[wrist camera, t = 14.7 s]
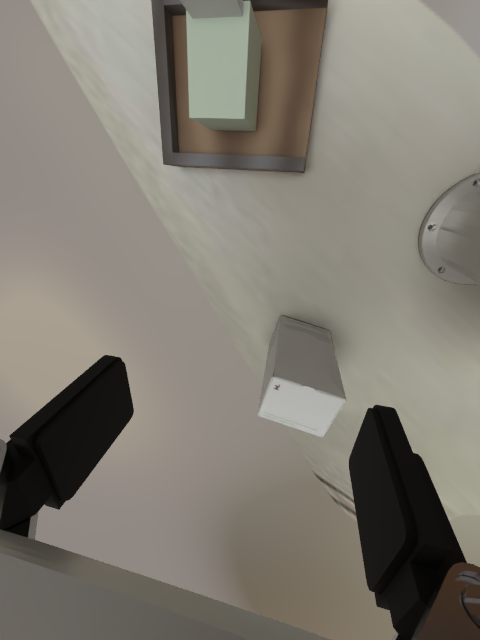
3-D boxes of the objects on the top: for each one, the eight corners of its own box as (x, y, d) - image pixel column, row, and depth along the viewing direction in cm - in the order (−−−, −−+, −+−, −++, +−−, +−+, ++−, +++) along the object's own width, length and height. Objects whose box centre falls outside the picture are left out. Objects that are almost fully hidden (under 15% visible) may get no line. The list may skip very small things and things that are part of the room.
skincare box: (268, 345, 44) (252, 416, 31) (281, 311, 41) (269, 374, 28) (316, 362, 44) (322, 441, 30) (333, 329, 40) (348, 401, 27)
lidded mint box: (263, 45, 26) (238, -40, 16) (257, 133, 29) (233, 106, 19) (214, 46, 26) (161, -34, 17) (213, 131, 30) (169, 106, 20)
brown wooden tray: (327, 7, 26) (331, -27, 22) (303, 172, 32) (303, 170, 28) (173, 16, 28) (150, -13, 24) (180, 166, 35) (163, 164, 31)
